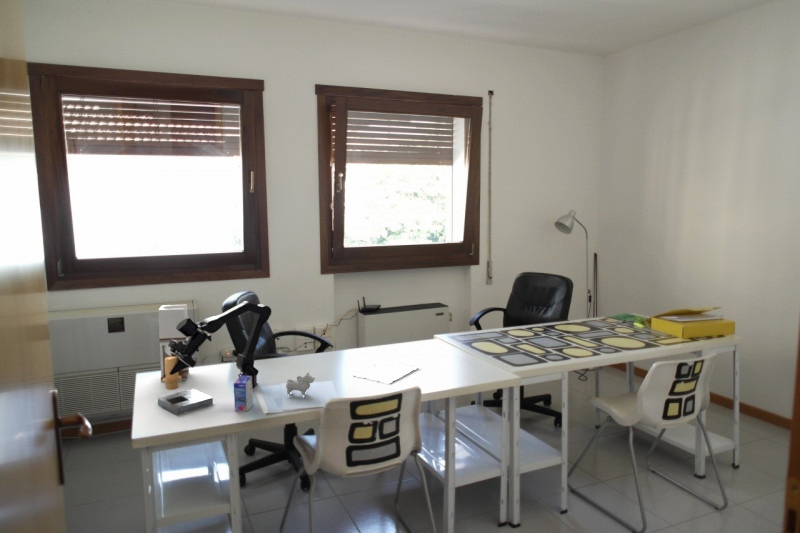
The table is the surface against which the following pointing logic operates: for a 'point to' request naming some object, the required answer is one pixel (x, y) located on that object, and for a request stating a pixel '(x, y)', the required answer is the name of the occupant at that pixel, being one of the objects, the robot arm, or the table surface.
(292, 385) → the grey dog figurine
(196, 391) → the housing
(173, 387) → the orange flanged peg
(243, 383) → the ink cartridge box
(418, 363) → the table surface
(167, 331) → the white dispenser
